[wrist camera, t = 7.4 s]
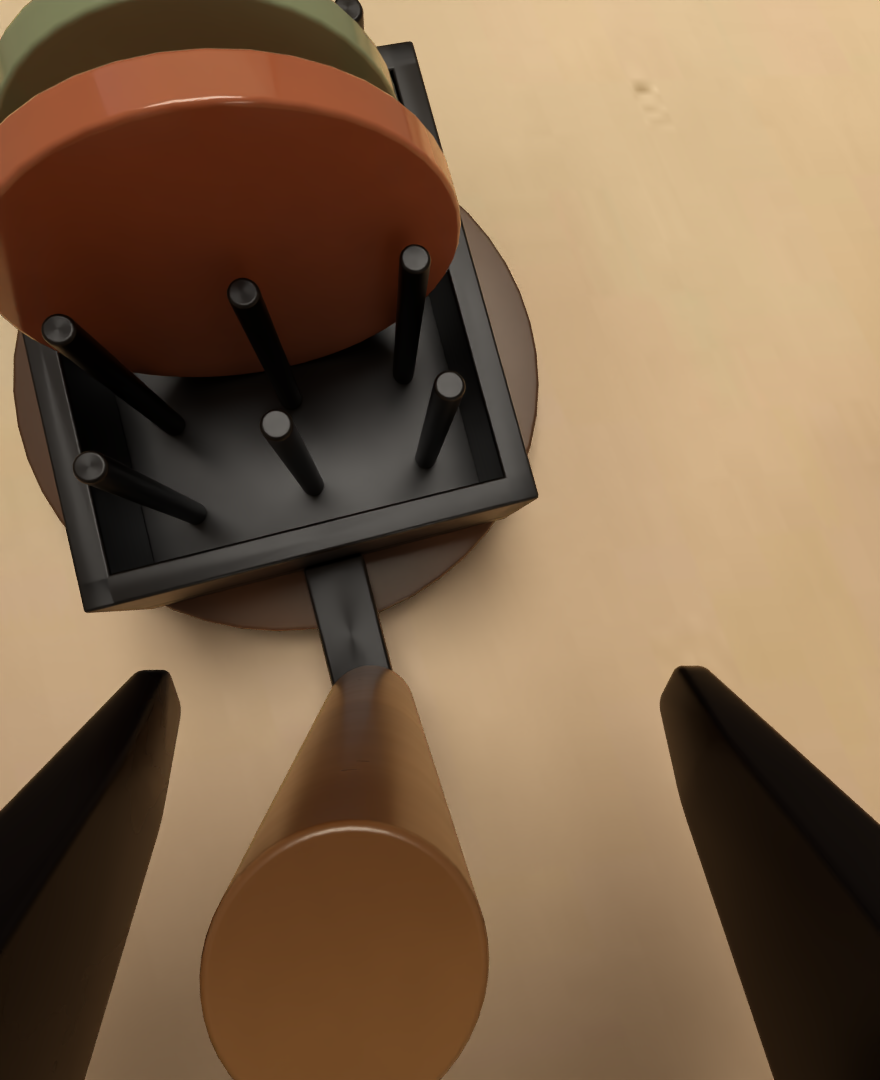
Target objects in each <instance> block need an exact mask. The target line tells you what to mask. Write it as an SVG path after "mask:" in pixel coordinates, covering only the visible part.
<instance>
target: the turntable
mask: <svg viewBox="0 0 880 1080" xmlns="http://www.w3.org/2000/svg"><path fill="white" fill-rule="evenodd" d="M459 208H460V215H461V218H462V222H463V226H464V229H465V233H466V236H467V240H468V244H469V247H470V251H471V254H472V258H473V262H474V265H475V269H476V272H477V276H478V280H479V283H480V287H481V290H482V294H483V298H484V301H485V305H486V308H487V312H488V316H489V319H490V323H491V326H492V330H493V333H494V337H495V341H496V344H497V348H498V351H499V355H500V359H501V362H502V366H503V369H504V373H505V377H506V380H507V384H508V387H509V391H510V395H511V398H512V402H513V405H514V409H515V413H516V416H517V420H518V423H519V427H520V431H521V434H522V438H523V441H524V445H525V449H526V452H527V455H528V452H529V449H530V446H531V441H532V436H533V431H534V426H535V421H536V416H537V401H538V386H539V383H538V368H537V353H536V348H535V343H534V338H533V333H532V328H531V323H530V320H529V317H528V314H527V311H526V308H525V305H524V302H523V299H522V296H521V294H520V291H519V289H518V287H517V285H516V283H515V281H514V279H513V277H512V275H511V273H510V271H509V269H508V267H507V265H506V263H505V261H504V260H503V258H502V257H501V255H500V254H499V252H498V251H497V249H496V248H495V246H494V245H493V243H492V241H491V240H490V238H489V237H488V236H487V235H486V233H485V232H484V231H483V230H482V229H481V228H480V226H479V225H478V224H477V223H476V222H475V221H474V219H473V218H472V217H471V216H470V215H469V213H467V212H466V211H465V210H464V209H463V208H462V207H461V206H460V205H459ZM13 392H14V400H15V407H16V415H17V422H18V428H19V431H20V435H21V438H22V442H23V445H24V449H25V452H26V456H27V459H28V461H29V464H30V466H31V468H32V470H33V473H34V475H35V477H36V479H37V482H38V484H39V486H40V488H41V491H42V493H43V494H44V496H45V497H46V499H47V501H48V502H49V504H50V505H51V507H52V508H53V510H54V512H55V513H56V515H57V516H58V518H59V520H60V521H61V523H62V524H63V525H64V526H65V523H64V519H63V514H62V510H61V505H60V501H59V496H58V492H57V488H56V483H55V479H54V474H53V470H52V465H51V461H50V456H49V452H48V448H47V443H46V439H45V434H44V430H43V425H42V421H41V416H40V412H39V408H38V403H37V399H36V394H35V390H34V385H33V381H32V377H31V372H30V368H29V363H28V359H27V354H26V350H25V345H24V341H23V337H22V332H21V331H19V330H18V334H17V340H16V347H15V353H14V385H13ZM494 522H495V521H492V522H489V523H485V524H481V525H477V526H473V527H469V528H465V529H461V530H457V531H453V532H450V533H446V534H442V535H438V536H434V537H430V538H426V539H422V540H418V541H415V542H411V543H407V544H403V545H399V546H395V547H391V548H387V549H383V550H379V551H376V552H372V553H368V554H364V555H362V556H363V557H364V561H365V565H366V568H367V572H368V576H369V580H370V584H371V588H372V592H373V596H374V600H375V603H376V607H377V611H378V612H381V611H383V610H385V609H387V608H389V607H392V606H394V605H396V604H398V603H400V602H402V601H404V600H406V599H408V598H410V597H412V596H414V595H415V594H417V593H418V592H420V591H421V590H423V589H425V588H426V587H428V586H429V585H431V584H432V583H434V582H435V581H437V580H438V579H440V578H441V577H442V576H443V575H445V574H446V573H447V572H448V571H449V570H450V569H452V568H453V567H454V566H455V565H456V564H457V563H459V562H460V561H461V560H462V559H463V558H464V557H466V556H467V554H468V553H469V552H470V551H471V550H472V549H473V548H474V547H475V545H476V544H477V543H478V542H479V541H480V540H481V539H482V538H483V537H484V535H485V534H486V533H487V532H488V531H489V529H490V528H491V526H492V525H493V523H494ZM165 606H166V607H168V608H170V609H172V610H175V611H178V612H181V613H184V614H187V615H190V616H193V617H196V618H198V619H201V620H204V621H208V622H212V623H217V624H222V625H227V626H232V627H237V628H242V629H256V630H269V631H288V630H305V629H316V628H318V627H317V623H316V619H315V615H314V611H313V607H312V603H311V599H310V595H309V591H308V587H307V583H306V579H305V575H304V570H302V571H298V572H294V573H290V574H286V575H282V576H278V577H274V578H270V579H267V580H263V581H259V582H255V583H251V584H247V585H243V586H239V587H235V588H232V589H228V590H224V591H220V592H216V593H212V594H208V595H204V596H200V597H197V598H193V599H189V600H185V601H181V602H177V603H173V604H169V605H165Z"/></svg>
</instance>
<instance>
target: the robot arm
mask: <svg viewBox="0 0 880 1080" xmlns="http://www.w3.org/2000/svg"><path fill="white" fill-rule="evenodd" d="M660 712H661V716H662V721H663V725H664V730H665V734H666V739H667V743H668V748H669V752H670V757H671V761H672V766H673V770H674V775H675V779H676V784H677V788H678V792H679V796H680V800H681V804H682V807H683V810H684V813H685V817H686V820H687V823H688V826H689V829H690V832H691V835H692V837H693V840H694V843H695V846H696V849H697V852H698V855H699V858H700V861H701V864H702V867H703V870H704V873H705V876H706V879H707V882H708V885H709V888H710V891H711V894H712V897H713V900H714V903H715V906H716V909H717V912H718V915H719V918H720V921H721V923H722V926H723V929H724V932H725V935H726V938H727V941H728V944H729V947H730V950H731V953H732V956H733V959H734V962H735V965H736V968H737V971H738V974H739V977H740V980H741V983H742V986H743V989H744V992H745V995H746V998H747V1001H748V1004H749V1007H750V1009H751V1012H752V1015H753V1018H754V1021H755V1024H756V1027H757V1030H758V1033H759V1036H760V1039H761V1042H762V1045H763V1048H764V1051H765V1054H766V1057H767V1060H768V1063H769V1066H770V1069H771V1072H772V1075H773V1078H774V1080H880V824H879V823H878V822H876V821H875V820H874V819H873V818H872V817H871V816H870V815H869V814H868V813H866V812H865V811H864V810H863V809H862V808H861V807H860V806H859V805H858V804H856V803H855V802H854V801H853V800H852V799H851V798H850V797H849V796H848V795H846V794H845V793H844V792H843V791H842V790H841V789H840V788H839V787H838V786H837V785H835V784H834V783H833V782H832V781H831V780H830V779H829V778H828V777H827V776H825V775H824V774H823V773H822V772H821V771H820V770H819V769H818V768H817V767H815V766H814V765H813V764H812V763H811V762H810V761H809V760H808V759H807V758H806V757H804V756H803V755H802V754H801V753H800V752H799V751H798V750H797V749H796V748H794V747H793V746H792V745H791V744H790V743H789V742H788V741H787V740H786V739H784V738H783V737H782V736H781V735H780V734H779V733H778V732H777V731H776V730H775V729H773V728H772V727H771V726H770V725H769V724H768V723H767V722H766V721H765V720H763V719H762V718H761V717H760V716H759V715H758V714H757V713H756V712H755V711H753V710H752V709H751V708H750V707H749V706H748V705H747V704H746V703H745V702H743V701H742V700H741V699H740V698H739V697H738V696H737V695H736V694H735V693H734V692H732V691H731V690H730V689H729V688H728V687H727V686H726V685H725V684H724V683H722V682H721V681H720V680H719V679H718V678H717V677H716V676H715V675H714V674H712V673H711V672H710V671H709V670H708V669H706V668H705V667H702V666H679V667H677V668H676V669H675V670H674V672H673V674H672V675H671V677H670V679H669V681H668V683H667V685H666V687H665V689H664V691H663V693H662V695H661V699H660ZM180 715H181V707H180V701H179V698H178V695H177V692H176V690H175V687H174V684H173V681H172V678H171V675H170V673H169V672H167V671H166V670H142V671H139V672H137V673H135V674H134V675H133V676H132V677H131V678H130V679H129V680H128V681H127V682H126V683H125V684H124V685H123V686H122V687H121V688H120V689H119V690H118V691H117V692H116V693H115V694H114V695H113V696H112V697H111V698H110V699H109V700H108V701H107V702H106V703H105V704H104V705H103V706H102V707H101V708H100V709H99V710H98V711H97V712H96V713H95V715H94V716H93V717H92V718H91V719H90V720H89V721H88V722H87V723H86V724H85V725H84V726H83V727H82V728H81V729H80V730H79V731H78V732H77V733H76V734H75V735H74V736H73V737H72V738H71V739H70V740H69V741H68V742H67V743H66V744H65V745H64V746H63V747H62V748H61V749H60V750H59V751H58V752H57V754H56V755H55V756H54V757H53V758H52V759H51V760H50V761H49V762H48V763H47V764H46V765H45V766H44V767H43V768H42V769H41V770H40V771H39V772H38V773H37V774H36V775H35V776H34V777H33V778H32V779H31V780H30V781H29V782H28V783H27V784H26V785H25V786H24V787H23V788H22V789H21V790H20V791H19V792H18V794H17V795H16V796H15V797H14V798H13V799H12V800H11V801H10V802H9V803H8V804H7V805H6V806H5V807H4V808H3V809H2V810H1V811H0V1080H85V1076H86V1073H87V1070H88V1066H89V1063H90V1060H91V1056H92V1053H93V1050H94V1046H95V1043H96V1040H97V1036H98V1033H99V1029H100V1026H101V1023H102V1019H103V1016H104V1013H105V1009H106V1006H107V1003H108V999H109V996H110V993H111V989H112V986H113V983H114V979H115V976H116V973H117V969H118V966H119V962H120V959H121V956H122V952H123V949H124V946H125V942H126V939H127V936H128V932H129V929H130V926H131V922H132V919H133V916H134V912H135V909H136V906H137V902H138V899H139V895H140V892H141V889H142V885H143V882H144V879H145V875H146V872H147V869H148V865H149V862H150V859H151V855H152V852H153V849H154V845H155V842H156V839H157V835H158V831H159V828H160V824H161V820H162V815H163V810H164V805H165V800H166V795H167V789H168V784H169V778H170V772H171V767H172V761H173V756H174V750H175V744H176V739H177V733H178V728H179V722H180Z"/></svg>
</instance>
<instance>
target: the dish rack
mask: <svg viewBox="0 0 880 1080" xmlns="http://www.w3.org/2000/svg"><path fill="white" fill-rule="evenodd" d="M0 314H1V316H2V317H4V318H5V319H6V320H7V321H8V322H10V323H11V324H12V325H13V326H14V327H15V328H17V329H18V330H19V331H21V332H22V337H23V341H24V345H25V350H26V354H27V359H28V363H29V368H30V372H31V377H32V381H33V385H34V390H35V394H36V399H37V403H38V408H39V412H40V416H41V421H42V425H43V430H44V434H45V439H46V443H47V448H48V452H49V456H50V461H51V465H52V470H53V474H54V479H55V483H56V488H57V492H58V496H59V501H60V505H61V510H62V514H63V519H64V523H65V527H66V532H67V536H68V541H69V545H70V550H71V554H72V559H73V563H74V567H75V572H76V576H77V581H78V585H79V590H80V594H81V598H82V603H83V607H84V611H85V612H86V613H93V612H110V611H126V610H140V609H154V608H158V607H161V606H165V605H169V604H173V603H177V602H181V601H185V600H189V599H193V598H197V597H200V596H204V595H208V594H212V593H216V592H220V591H224V590H228V589H232V588H235V587H239V586H243V585H247V584H251V583H255V582H259V581H263V580H267V579H270V578H274V577H278V576H282V575H286V574H290V573H294V572H298V571H302V570H304V575H305V579H306V583H307V587H308V591H309V595H310V599H311V603H312V607H313V611H314V615H315V619H316V623H317V627H318V631H319V635H320V639H321V643H322V647H323V651H324V655H325V659H326V663H327V667H328V671H329V675H330V679H331V683H332V689H331V691H330V692H329V694H328V696H327V698H326V700H325V702H324V704H323V706H322V708H321V710H320V712H319V714H318V715H317V717H316V719H315V721H314V723H313V725H312V727H311V729H310V731H309V733H308V735H307V737H306V738H305V740H304V742H303V744H302V746H301V748H300V750H299V752H298V754H297V756H296V758H295V760H294V761H293V763H292V765H291V767H290V769H289V771H288V773H287V775H286V777H285V779H284V781H283V783H282V785H281V786H280V788H279V790H278V792H277V794H276V796H275V798H274V800H273V802H272V804H271V806H270V808H269V809H268V811H267V813H266V815H265V817H264V819H263V821H262V823H261V825H260V827H259V829H258V831H257V832H256V834H255V836H254V838H253V840H252V842H251V844H250V846H249V848H248V850H247V852H246V854H245V855H244V857H243V859H242V861H241V863H240V865H239V867H238V869H237V871H236V873H235V875H234V877H233V878H232V880H231V882H230V884H229V886H228V888H227V890H226V892H225V894H224V896H223V898H222V900H221V902H220V904H219V906H218V908H217V910H216V912H215V914H214V915H213V918H212V921H211V924H210V926H209V929H208V932H207V935H206V938H205V943H204V947H203V952H202V957H201V967H200V998H201V1005H202V1011H203V1017H204V1021H205V1024H206V1028H207V1031H208V1034H209V1038H210V1040H211V1043H212V1045H213V1047H214V1049H215V1051H216V1054H217V1056H218V1058H219V1059H220V1061H221V1062H222V1064H223V1066H224V1067H225V1069H226V1070H227V1072H228V1073H229V1075H230V1076H231V1077H232V1078H233V1079H234V1080H440V1079H441V1078H442V1077H443V1076H444V1075H445V1074H446V1073H447V1072H448V1070H449V1069H450V1068H451V1066H452V1065H453V1064H454V1062H455V1061H456V1060H457V1058H458V1057H459V1056H460V1054H461V1052H462V1051H463V1049H464V1047H465V1045H466V1044H467V1042H468V1040H469V1039H470V1036H471V1034H472V1032H473V1029H474V1027H475V1025H476V1023H477V1020H478V1018H479V1015H480V1011H481V1008H482V1005H483V1002H484V998H485V993H486V987H487V982H488V971H489V948H488V937H487V932H486V927H485V922H484V918H483V915H482V912H481V909H480V906H479V903H478V900H477V896H476V893H475V890H474V887H473V884H472V881H471V878H470V874H469V871H468V868H467V865H466V862H465V859H464V856H463V853H462V849H461V846H460V843H459V840H458V837H457V834H456V831H455V827H454V824H453V821H452V818H451V815H450V812H449V809H448V806H447V802H446V799H445V796H444V793H443V790H442V787H441V784H440V780H439V777H438V774H437V771H436V768H435V765H434V762H433V759H432V755H431V752H430V749H429V746H428V743H427V740H426V737H425V733H424V730H423V727H422V724H421V721H420V718H419V715H418V712H417V708H416V705H415V702H414V699H413V696H412V693H411V691H410V689H409V687H408V685H407V684H406V682H405V681H404V680H403V679H402V678H401V677H400V676H399V675H398V674H396V673H395V672H393V670H392V666H391V662H390V658H389V654H388V650H387V646H386V642H385V638H384V635H383V631H382V627H381V623H380V619H379V615H378V611H377V607H376V603H375V600H374V596H373V592H372V588H371V584H370V580H369V576H368V572H367V568H366V565H365V561H364V557H363V556H362V555H364V554H368V553H372V552H376V551H379V550H383V549H387V548H391V547H395V546H399V545H403V544H407V543H411V542H415V541H418V540H422V539H426V538H430V537H434V536H438V535H442V534H446V533H450V532H453V531H457V530H461V529H465V528H469V527H473V526H477V525H481V524H485V523H489V522H492V521H496V520H500V519H504V518H506V517H507V516H509V515H510V514H512V513H514V512H516V511H517V510H519V509H521V508H522V507H524V506H525V505H527V504H529V503H530V502H532V501H534V500H535V499H537V498H538V492H537V488H536V484H535V481H534V477H533V474H532V470H531V467H530V463H529V459H528V456H527V452H526V449H525V445H524V441H523V438H522V434H521V431H520V427H519V423H518V420H517V416H516V413H515V409H514V405H513V402H512V398H511V395H510V391H509V387H508V384H507V380H506V377H505V373H504V369H503V366H502V362H501V359H500V355H499V351H498V348H497V344H496V341H495V337H494V333H493V330H492V326H491V323H490V319H489V316H488V312H487V308H486V305H485V301H484V298H483V294H482V290H481V287H480V283H479V280H478V276H477V272H476V269H475V265H474V262H473V258H472V254H471V251H470V247H469V244H468V240H467V236H466V233H465V229H464V226H463V222H462V218H461V215H460V208H459V203H458V200H457V196H456V192H455V189H454V185H453V182H452V178H451V174H450V171H449V168H448V165H447V162H446V159H445V156H444V154H443V150H442V147H441V143H440V139H439V136H438V132H437V129H436V125H435V121H434V118H433V114H432V111H431V107H430V103H429V100H428V96H427V93H426V89H425V85H424V82H423V78H422V75H421V71H420V67H419V64H418V60H417V57H416V53H415V49H414V46H413V43H412V42H403V43H397V44H390V45H384V46H377V47H376V46H375V44H374V43H373V42H372V40H371V39H370V38H369V37H368V35H367V34H366V33H365V32H364V18H363V8H362V6H361V4H360V3H359V1H358V0H336V1H335V2H333V1H332V0H32V1H31V2H29V3H28V4H27V5H26V6H24V7H23V9H22V10H21V11H20V12H19V14H18V15H17V16H16V17H15V18H14V20H13V21H12V22H11V23H10V25H9V26H8V27H7V28H6V30H5V32H4V34H3V36H2V37H1V39H0Z"/></svg>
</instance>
